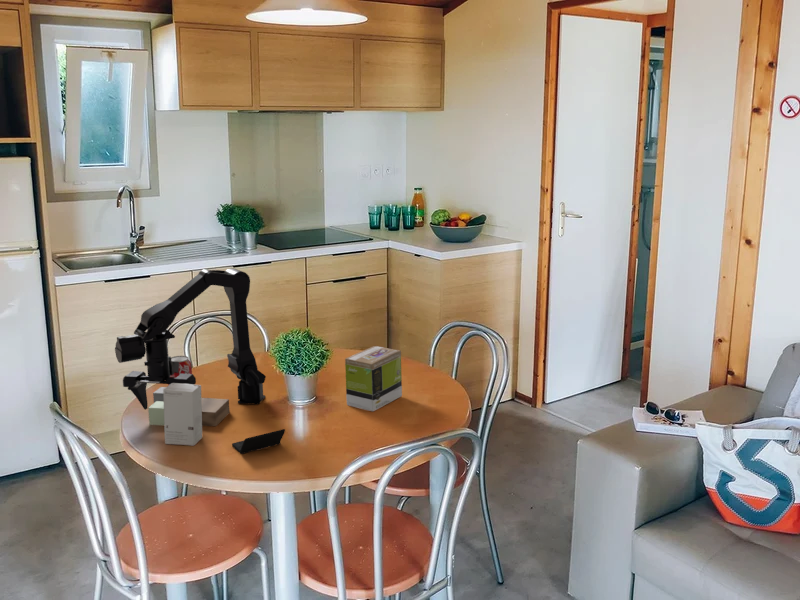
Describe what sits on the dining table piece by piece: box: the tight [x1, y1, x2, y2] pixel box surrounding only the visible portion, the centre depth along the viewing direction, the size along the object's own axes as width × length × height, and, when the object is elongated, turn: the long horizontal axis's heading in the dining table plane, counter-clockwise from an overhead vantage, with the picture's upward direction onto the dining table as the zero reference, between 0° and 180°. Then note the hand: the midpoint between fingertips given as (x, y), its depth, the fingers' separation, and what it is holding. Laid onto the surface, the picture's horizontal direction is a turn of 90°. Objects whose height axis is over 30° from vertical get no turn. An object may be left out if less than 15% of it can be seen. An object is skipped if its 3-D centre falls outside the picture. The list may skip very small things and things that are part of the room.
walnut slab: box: [201, 397, 231, 427], centre depth 213 cm, size 10×10×4 cm
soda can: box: [167, 355, 193, 386], centre depth 228 cm, size 7×7×12 cm
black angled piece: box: [231, 428, 286, 455], centre depth 194 cm, size 12×7×10 cm
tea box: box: [344, 345, 403, 412], centre depth 224 cm, size 15×10×15 cm, turn 146°
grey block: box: [152, 386, 167, 404], centre depth 222 cm, size 5×5×5 cm
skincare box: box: [163, 383, 203, 446], centre depth 197 cm, size 8×6×15 cm
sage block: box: [147, 401, 164, 426], centre depth 211 cm, size 5×5×5 cm
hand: (161, 409), depth 210 cm, fingers open, 9 cm apart
